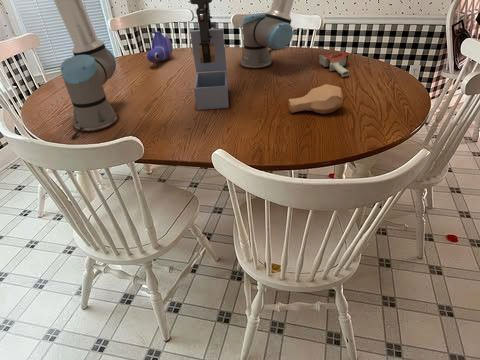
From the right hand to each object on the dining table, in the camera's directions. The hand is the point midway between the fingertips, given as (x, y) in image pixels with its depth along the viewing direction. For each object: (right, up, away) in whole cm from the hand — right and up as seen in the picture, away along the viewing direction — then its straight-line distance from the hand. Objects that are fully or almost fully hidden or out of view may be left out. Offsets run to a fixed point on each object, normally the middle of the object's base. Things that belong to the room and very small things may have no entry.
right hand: (208, 37), depth 141 cm
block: (+1, -12, -10) cm, 16 cm away
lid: (0, -7, -3) cm, 7 cm away
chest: (+2, -24, +3) cm, 25 cm away
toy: (-30, +5, +46) cm, 55 cm away
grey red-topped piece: (+57, -5, +24) cm, 62 cm away
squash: (+41, -31, -10) cm, 52 cm away
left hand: (+1, -12, -10) cm, 16 cm away
